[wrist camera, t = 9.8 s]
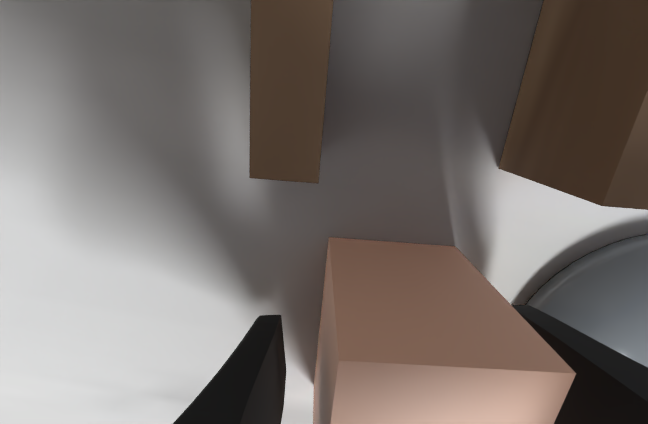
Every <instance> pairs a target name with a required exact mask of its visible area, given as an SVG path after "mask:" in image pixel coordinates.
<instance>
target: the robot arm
mask: <svg viewBox="0 0 648 424" xmlns="http://www.w3.org/2000/svg"><path fill="white" fill-rule="evenodd" d="M512 307H513V308H514V309H515V310H516V311H517V312H518V313H519V314H520V315H521V316H522V317H523V318H524V319H525V320H526V321H527V322H528V323H529V324H530V325H531V327H532V328H533V329H534V330H535V331H536V332H537V333H538V334H539V335H540V336H541V337H542V338H543V339H544V340H545V341H546V342H547V343H548V344H549V345H550V346H551V348H552V349H553V350H554V351H555V352H556V353H557V354H558V355H559V356H560V357H561V358H562V359H563V360H564V361H565V362H566V363H567V364H568V365H569V366H570V367H571V369H572V370H573V371H574V372H575V373H576V375H575V378H574V380H573V382H572V384H571V386H570V389H569V391H568V393H567V395H566V398H565V400H564V402H563V404H562V406H561V409H560V411H559V413H558V415H557V417H556V420H555V422H554V424H648V367H646V366H644V365H642V364H640V363H638V362H636V361H634V360H632V359H630V358H628V357H626V356H625V355H623V354H621V353H619V352H617V351H615V350H613V349H611V348H610V347H608V346H606V345H604V344H602V343H600V342H598V341H597V340H595V339H593V338H591V337H589V336H587V335H585V334H584V333H582V332H580V331H578V330H576V329H574V328H573V327H571V326H569V325H567V324H565V323H563V322H561V321H560V320H558V319H556V318H554V317H552V316H550V315H548V314H546V313H544V312H542V311H540V310H538V309H536V308H534V307H532V306H530V305H518V306H512ZM285 380H286V363H285V352H284V341H283V331H282V320H281V315H264V316H259V317H258V318H257V319H256V321H255V322H254V324H253V325H252V327H251V328H250V330H249V331H248V332H247V334H246V335H245V337H244V338H243V340H242V341H241V342H240V344H239V345H238V346H237V348H236V349H235V351H234V352H233V353H232V354H231V356H230V357H229V358H228V360H227V361H226V362H225V364H224V365H223V366H222V367H221V369H220V370H219V371H218V373H217V374H216V375H215V376H214V378H213V379H212V380H211V381H210V382H209V383H208V385H207V386H206V387H205V388H204V389H203V390H202V392H201V393H200V394H199V395H198V396H197V397H196V399H195V400H194V401H193V402H192V403H191V404H190V406H189V407H188V408H187V409H186V410H185V411H184V412H183V413H182V414H181V415H180V417H179V418H178V419H177V420H176V421H175V422H174V423H173V424H281V418H282V412H283V406H284V394H285Z"/></svg>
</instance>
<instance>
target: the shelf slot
mask: <svg viewBox="0 0 648 424" xmlns="http://www.w3.org/2000/svg"><path fill="white" fill-rule="evenodd" d="M332 12H333V0H251V71H250V178H257V179H270V180H282V181H295V182H307V183H318V182H319V170H320V158H321V145H322V133H323V121H324V109H325V97H326V85H327V72H328V60H329V48H330V36H331V24H332ZM499 169H502V170H504V171H507V172H510V173H513V174H515V175H518V176H521V177H524V178H526V179H529V180H532V181H535V182H537V183H540V184H543V185H546V186H548V187H551V188H554V189H557V190H559V191H562V192H565V193H568V194H571V195H573V196H576V197H579V198H582V199H584V200H587V201H590V202H593V203H595V204H598V205H601V206H609V207H621V208H634V209H646V210H648V0H544V1H543V5H542V9H541V12H540V16H539V20H538V24H537V27H536V31H535V35H534V38H533V42H532V46H531V50H530V53H529V57H528V61H527V64H526V68H525V72H524V76H523V79H522V83H521V87H520V90H519V94H518V98H517V102H516V105H515V109H514V113H513V116H512V120H511V124H510V128H509V131H508V135H507V139H506V142H505V146H504V150H503V154H502V157H501V161H500V165H499Z"/></svg>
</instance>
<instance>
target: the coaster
mask: <svg viewBox="0 0 648 424" xmlns="http://www.w3.org/2000/svg"><path fill="white" fill-rule="evenodd" d="M526 305H530V306H532V307H534V308H536V309H538V310H540V311H542V312H544V313H546V314H548V315H550V316H552V317H554V318H556V319H558V320H560V321H561V322H563V323H565V324H567V325H569V326H571V327H573V328H574V329H576V330H578V331H580V332H582V333H584V334H585V335H587V336H589V337H591V338H593V339H595V340H597V341H598V342H600V343H602V344H604V345H606V346H608V347H610V348H611V349H613V350H615V351H617V352H619V353H621V354H623V355H625V356H626V357H628V358H630V359H632V360H634V361H636V362H638V363H640V364H642V365H644V366H646V367H648V234H646V235H642V236H637V237H633V238H628V239H625V240H622V241H619V242H616V243H613V244H610V245H607V246H605V247H603V248H600V249H598V250H596V251H594V252H591V253H589V254H588V255H586V256H584V257H582V258H581V259H579V260H577V261H575V262H573V263H572V264H570V265H569V266H568V267H566V268H565V269H563V270H562V271H560V272H559V273H558V274H556V275H555V276H554V277H553V278H551V279H550V280H549V281H548V282H547V283H546V284H545V285H543V286H542V287H541V288H540V289H539V290H538V291H537V292H536V294H535V295H534V296H533V297H532V298H531V299H530V300H529V301H528V303H527V304H526Z"/></svg>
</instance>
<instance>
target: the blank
mask: <svg viewBox="0 0 648 424" xmlns="http://www.w3.org/2000/svg"><path fill="white" fill-rule="evenodd" d="M575 375H576V373H575V372H574V371H573V370H572V369H571V367H570V366H569V365H568V364H567V363H566V362H565V361H564V360H563V359H562V358H561V357H560V356H559V355H558V354H557V353H556V352H555V351H554V350H553V349H552V348H551V346H550V345H549V344H548V343H547V342H546V341H545V340H544V339H543V338H542V337H541V336H540V335H539V334H538V333H537V332H536V331H535V330H534V329H533V328H532V327H531V325H530V324H529V323H528V322H527V321H526V320H525V319H524V318H523V317H522V316H521V315H520V314H519V313H518V312H517V311H516V310H515V309H514V308H513V307H512V306H511V304H510V303H509V302H508V301H507V300H506V299H505V298H504V297H503V296H502V295H501V294H500V293H499V292H498V291H497V290H496V289H495V288H494V287H493V286H492V285H491V283H490V282H489V281H488V280H487V279H486V278H485V277H484V276H483V275H482V274H481V273H480V272H479V271H478V270H477V269H476V268H475V267H474V266H473V265H472V264H471V262H470V261H469V260H468V259H467V258H466V257H465V256H464V255H463V254H462V253H461V252H460V251H459V250H458V249H457V248H456V247H455V246H442V245H429V244H415V243H402V242H388V241H375V240H361V239H348V238H334V237H329V240H328V250H327V260H326V269H325V279H324V289H323V299H322V309H321V319H320V329H319V339H318V348H317V358H316V368H315V378H314V406H313V424H554V422H555V420H556V417H557V415H558V413H559V411H560V409H561V406H562V404H563V402H564V400H565V398H566V395H567V393H568V391H569V389H570V386H571V384H572V382H573V380H574V378H575Z"/></svg>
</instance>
